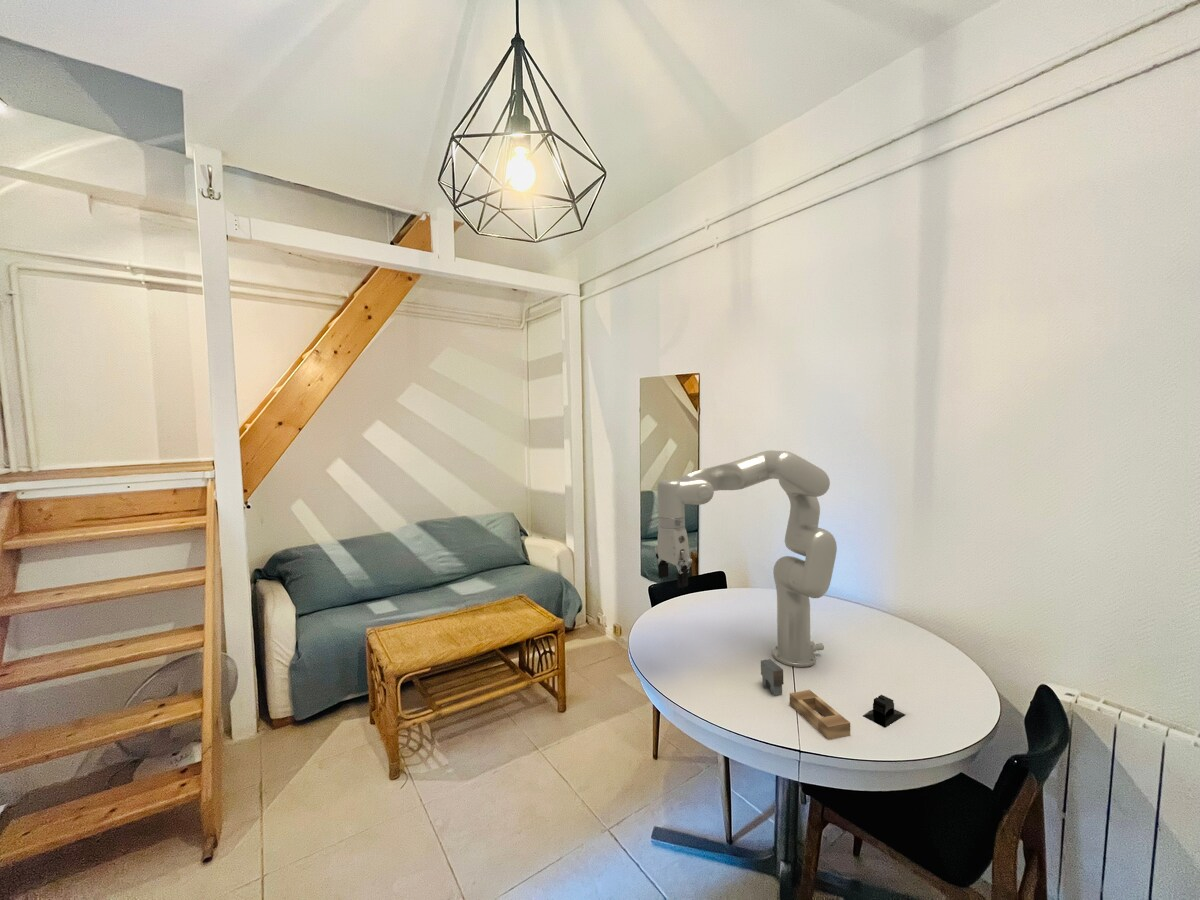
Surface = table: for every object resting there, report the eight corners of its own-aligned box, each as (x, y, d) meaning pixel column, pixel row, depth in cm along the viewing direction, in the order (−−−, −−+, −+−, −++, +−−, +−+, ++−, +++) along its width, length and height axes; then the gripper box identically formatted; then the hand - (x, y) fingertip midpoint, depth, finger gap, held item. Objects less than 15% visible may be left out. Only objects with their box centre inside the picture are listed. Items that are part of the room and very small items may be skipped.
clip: (761, 684, 126) (760, 660, 126) (770, 683, 127) (770, 659, 127) (773, 697, 120) (773, 671, 120) (783, 695, 121) (783, 669, 121)
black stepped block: (882, 702, 118) (882, 685, 118) (913, 717, 111) (912, 698, 111) (855, 718, 112) (854, 700, 111) (885, 735, 105) (885, 715, 105)
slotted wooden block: (789, 704, 117) (789, 693, 117) (809, 700, 118) (809, 689, 118) (828, 739, 103) (828, 727, 103) (850, 735, 105) (850, 722, 104)
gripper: (701, 526, 122) (702, 588, 123) (665, 516, 138) (667, 571, 138) (678, 529, 119) (679, 593, 120) (644, 519, 135) (646, 575, 135)
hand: (672, 581), depth 129 cm, fingers open, 9 cm apart
